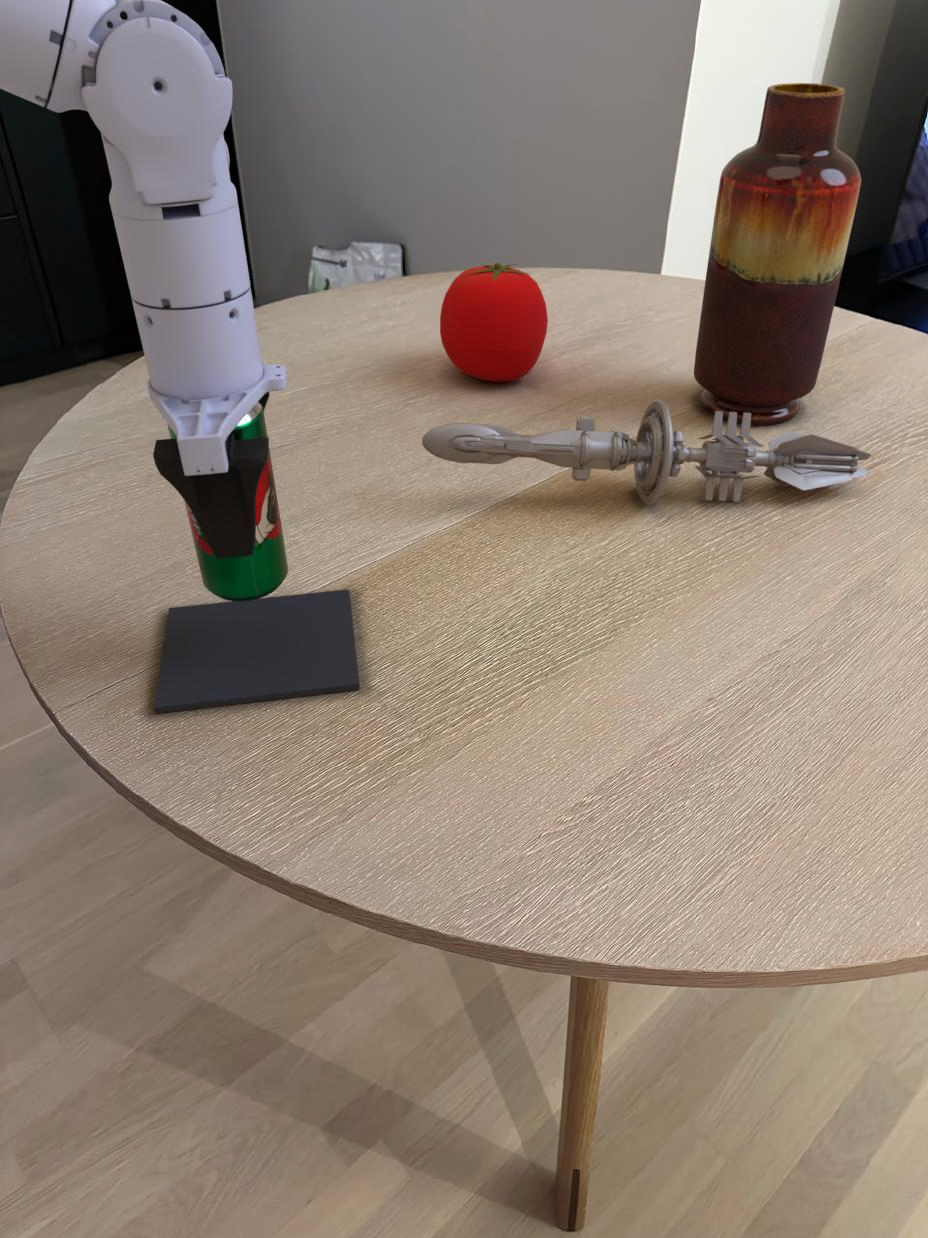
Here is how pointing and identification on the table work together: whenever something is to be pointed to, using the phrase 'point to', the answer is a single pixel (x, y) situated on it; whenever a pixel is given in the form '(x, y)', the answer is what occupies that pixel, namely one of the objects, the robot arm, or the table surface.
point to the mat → (257, 651)
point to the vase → (776, 258)
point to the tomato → (493, 322)
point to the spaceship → (658, 453)
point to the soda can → (269, 558)
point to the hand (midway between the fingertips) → (236, 528)
